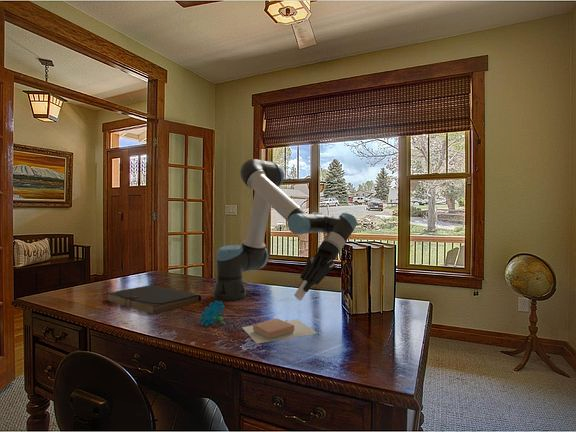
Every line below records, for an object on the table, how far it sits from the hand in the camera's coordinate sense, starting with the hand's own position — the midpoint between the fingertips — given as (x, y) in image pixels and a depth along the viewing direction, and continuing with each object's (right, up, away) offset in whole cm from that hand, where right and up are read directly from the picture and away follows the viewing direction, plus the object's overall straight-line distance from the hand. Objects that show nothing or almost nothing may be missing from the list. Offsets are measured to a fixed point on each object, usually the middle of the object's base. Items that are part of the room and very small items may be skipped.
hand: (297, 297), depth 113 cm
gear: (-30, -10, +2) cm, 31 cm away
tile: (-4, -8, -3) cm, 10 cm away
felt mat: (-6, -10, -5) cm, 13 cm away
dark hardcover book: (-62, -10, +30) cm, 70 cm away
